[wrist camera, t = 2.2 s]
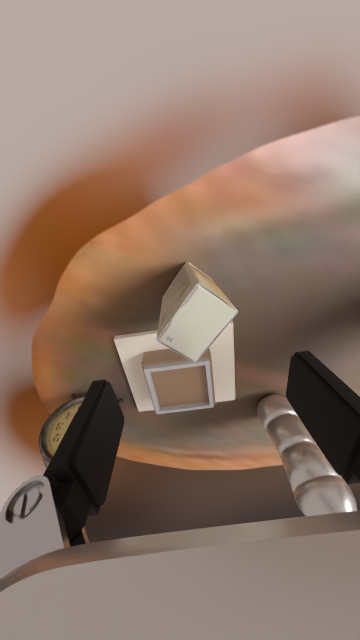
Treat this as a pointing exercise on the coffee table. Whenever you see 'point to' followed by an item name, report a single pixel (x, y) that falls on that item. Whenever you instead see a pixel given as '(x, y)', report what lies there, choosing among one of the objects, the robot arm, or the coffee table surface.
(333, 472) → the plastic bottle
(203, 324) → the skincare box
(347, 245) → the coffee table surface
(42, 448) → the alarm clock
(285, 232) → the coffee table surface
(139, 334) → the display base
